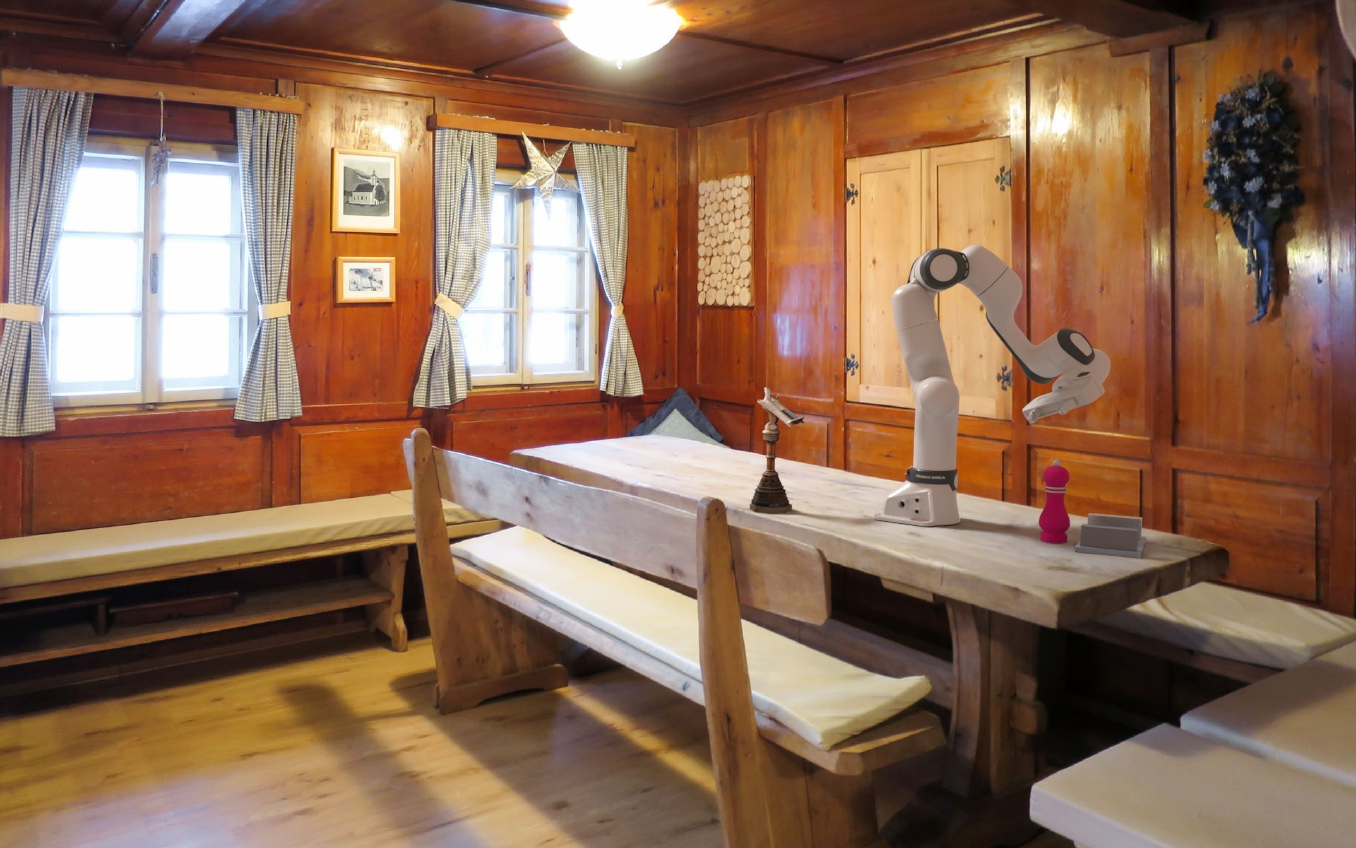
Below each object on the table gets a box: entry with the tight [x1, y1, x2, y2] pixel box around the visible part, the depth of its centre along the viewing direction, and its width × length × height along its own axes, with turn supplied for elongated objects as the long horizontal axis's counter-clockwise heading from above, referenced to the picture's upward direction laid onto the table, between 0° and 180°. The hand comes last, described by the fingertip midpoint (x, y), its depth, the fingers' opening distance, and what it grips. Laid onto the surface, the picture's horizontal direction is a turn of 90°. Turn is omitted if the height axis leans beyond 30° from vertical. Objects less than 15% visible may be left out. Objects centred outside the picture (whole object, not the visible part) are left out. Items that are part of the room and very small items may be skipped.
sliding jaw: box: [1087, 512, 1143, 539], centre depth 247 cm, size 12×2×5 cm, turn 63°
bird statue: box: [749, 387, 805, 515], centre depth 285 cm, size 17×13×35 cm
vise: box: [1074, 523, 1147, 559], centre depth 241 cm, size 14×20×6 cm
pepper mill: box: [1038, 459, 1071, 544], centre depth 247 cm, size 7×7×20 cm
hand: (1045, 416), depth 254 cm, fingers open, 8 cm apart
